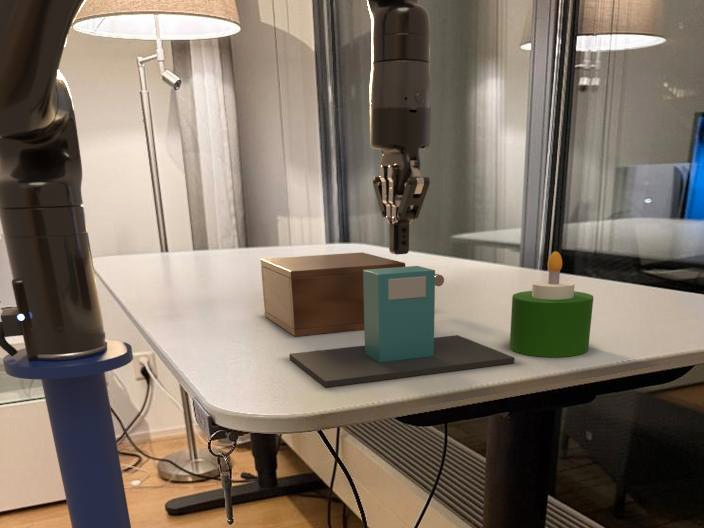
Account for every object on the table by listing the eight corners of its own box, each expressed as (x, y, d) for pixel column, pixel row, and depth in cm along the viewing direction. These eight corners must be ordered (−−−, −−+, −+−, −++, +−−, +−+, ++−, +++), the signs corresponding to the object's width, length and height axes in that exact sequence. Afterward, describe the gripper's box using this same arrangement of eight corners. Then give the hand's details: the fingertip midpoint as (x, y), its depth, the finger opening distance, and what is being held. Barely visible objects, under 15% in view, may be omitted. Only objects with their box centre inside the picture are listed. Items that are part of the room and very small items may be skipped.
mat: (325, 387, 66) (325, 381, 66) (289, 359, 76) (289, 353, 76) (514, 363, 72) (514, 357, 72) (457, 340, 83) (457, 334, 83)
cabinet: (363, 307, 104) (362, 252, 101) (405, 325, 91) (405, 262, 88) (264, 316, 99) (260, 259, 96) (294, 336, 87) (290, 271, 84)
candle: (605, 350, 76) (616, 252, 72) (541, 360, 73) (548, 258, 69) (554, 336, 83) (562, 245, 79) (494, 344, 80) (499, 250, 76)
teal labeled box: (379, 363, 71) (378, 274, 68) (364, 354, 75) (362, 269, 72) (434, 356, 73) (435, 270, 70) (417, 348, 77) (417, 265, 73)
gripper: (352, 110, 93) (354, 250, 100) (393, 101, 82) (393, 260, 89) (405, 110, 95) (404, 248, 102) (452, 102, 84) (447, 257, 91)
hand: (399, 253), depth 95 cm, fingers closed
